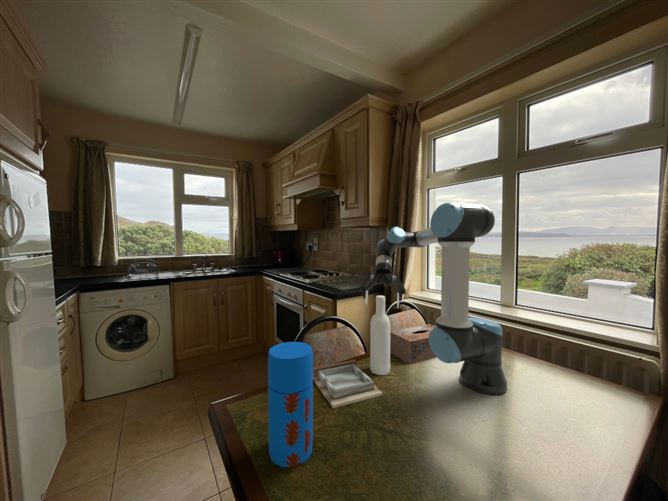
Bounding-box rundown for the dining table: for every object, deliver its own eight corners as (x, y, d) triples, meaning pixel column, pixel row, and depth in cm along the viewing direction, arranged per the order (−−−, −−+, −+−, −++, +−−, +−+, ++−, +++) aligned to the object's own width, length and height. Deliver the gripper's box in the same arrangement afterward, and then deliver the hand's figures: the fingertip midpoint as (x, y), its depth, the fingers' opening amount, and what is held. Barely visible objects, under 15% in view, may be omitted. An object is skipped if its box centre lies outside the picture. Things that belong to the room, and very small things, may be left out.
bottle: (393, 373, 104) (394, 297, 104) (375, 376, 102) (375, 298, 101) (384, 364, 112) (384, 293, 111) (366, 367, 110) (367, 294, 109)
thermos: (272, 435, 71) (271, 342, 70) (312, 432, 72) (312, 340, 71) (265, 469, 60) (264, 360, 59) (312, 466, 61) (312, 358, 60)
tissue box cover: (429, 343, 137) (429, 324, 137) (452, 353, 124) (453, 332, 124) (388, 352, 126) (388, 331, 125) (410, 364, 113) (410, 341, 112)
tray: (382, 395, 90) (382, 383, 90) (332, 408, 83) (332, 395, 82) (354, 369, 108) (354, 359, 108) (312, 378, 101) (312, 367, 101)
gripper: (409, 272, 129) (411, 312, 115) (358, 270, 134) (353, 308, 120) (411, 263, 123) (412, 303, 110) (357, 261, 128) (352, 299, 115)
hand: (381, 306), depth 115 cm, fingers open, 13 cm apart
